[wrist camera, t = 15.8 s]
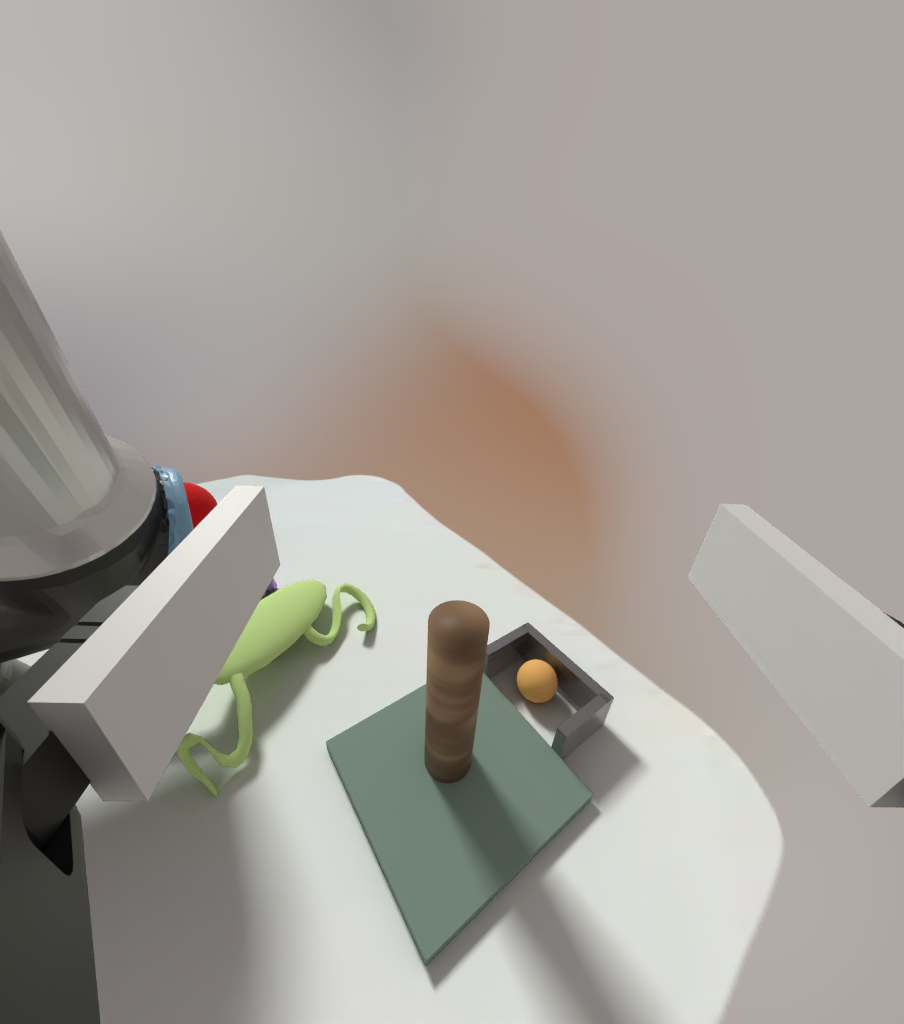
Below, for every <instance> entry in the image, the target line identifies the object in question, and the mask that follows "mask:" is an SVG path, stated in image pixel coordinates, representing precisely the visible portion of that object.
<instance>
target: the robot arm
mask: <svg viewBox="0 0 904 1024" xmlns="http://www.w3.org/2000/svg"><path fill="white" fill-rule="evenodd" d="M279 566H280V562H279V557H278V552H277V547H276V542H275V538H274V533H273V528H272V523H271V518H270V513H269V508H268V504H267V499H266V494H265V489H264V487H263V486H235V487H234V488H233V489H232V490H231V491H230V492H229V493H228V494H227V495H226V496H225V498H224V499H223V500H222V501H221V502H220V503H219V504H218V505H217V506H216V507H215V508H214V509H213V510H212V511H211V512H210V513H209V514H208V515H207V516H206V517H205V518H204V519H203V520H202V521H201V522H200V523H199V524H198V525H197V527H196V528H195V529H193V524H192V519H191V514H190V509H189V504H188V500H187V496H186V491H185V488H184V484H183V480H182V477H181V475H180V473H179V472H178V471H177V470H175V469H173V468H161V467H158V466H156V467H150V465H149V463H148V462H147V461H146V459H145V458H144V456H143V455H141V454H140V453H139V452H138V451H137V450H135V449H134V448H133V447H131V446H130V445H128V444H126V443H124V442H122V441H120V440H118V439H115V438H112V437H109V436H106V435H105V434H104V432H103V430H102V428H101V426H100V424H99V422H98V420H97V418H96V416H95V414H94V412H93V410H92V408H91V406H90V404H89V403H88V400H87V399H86V397H85V395H84V393H83V391H82V389H81V387H80V385H79V383H78V381H77V379H76V377H75V375H74V373H73V371H72V369H71V367H70V365H69V363H68V361H67V360H66V358H65V356H64V354H63V352H62V350H61V348H60V346H59V344H58V342H57V340H56V338H55V336H54V335H53V332H52V331H51V329H50V326H49V324H48V323H47V321H46V319H45V317H44V315H43V313H42V311H41V309H40V307H39V305H38V303H37V301H36V299H35V298H34V295H33V293H32V291H31V289H30V288H29V286H28V284H27V282H26V280H25V278H24V276H23V274H22V272H21V270H20V268H19V266H18V264H17V262H16V260H15V258H14V256H13V254H12V252H11V251H10V249H9V247H8V245H7V243H6V241H5V239H4V237H3V235H2V233H1V231H0V1024H100V1015H99V1004H98V994H97V983H96V972H95V962H94V951H93V941H92V930H91V920H90V909H89V899H88V888H87V877H86V867H85V856H84V846H83V835H82V825H81V816H80V813H79V811H78V809H77V807H76V805H75V804H76V802H77V801H78V799H79V798H80V796H81V795H82V794H83V792H84V791H85V789H86V788H87V786H88V785H89V783H90V784H91V786H92V787H93V788H94V790H95V791H96V792H97V793H98V795H99V796H100V797H101V799H102V800H103V801H149V799H150V797H151V795H152V794H153V792H154V790H155V788H156V786H157V785H158V783H159V781H160V779H161V777H162V776H163V774H164V772H165V770H166V768H167V767H168V765H169V763H170V761H171V760H172V758H173V756H174V754H175V752H176V751H177V749H178V747H179V745H180V743H181V742H182V740H183V738H184V736H185V734H186V733H187V731H188V729H189V727H190V725H191V724H192V722H193V720H194V718H195V716H196V715H197V713H198V711H199V709H200V707H201V706H202V704H203V702H204V700H205V699H206V697H207V695H208V693H209V691H210V690H211V688H212V686H213V684H214V682H215V681H216V679H217V677H218V675H219V673H220V672H221V670H222V668H223V666H224V664H225V663H226V661H227V659H228V657H229V655H230V654H231V652H232V650H233V648H234V647H235V645H236V643H237V641H238V639H239V638H240V636H241V634H242V632H243V630H244V629H245V627H246V625H247V623H248V621H249V620H250V618H251V616H252V614H253V612H254V611H255V609H256V607H257V605H258V603H259V602H260V600H261V598H262V596H263V594H264V593H265V591H266V589H267V587H268V586H269V584H270V582H271V580H272V578H273V577H274V575H275V573H276V571H277V569H278V568H279ZM688 578H689V579H690V580H691V582H692V583H693V584H694V585H695V587H696V588H697V589H698V590H699V592H700V593H701V594H702V596H703V597H704V598H705V599H706V601H707V602H708V603H709V604H710V606H711V607H712V608H713V609H714V611H715V612H716V613H717V615H718V616H719V617H720V618H721V620H722V621H723V622H724V623H725V625H726V626H727V627H728V629H729V630H730V631H731V632H732V633H733V635H734V636H735V637H736V639H737V640H738V641H739V642H740V644H741V645H742V646H743V648H744V649H745V650H746V651H747V653H748V654H749V655H750V656H751V658H752V659H753V660H754V661H755V663H756V664H757V665H758V667H759V668H760V669H761V670H762V672H763V673H764V674H765V676H766V677H767V678H768V679H769V681H770V682H771V683H772V684H773V685H774V687H775V688H776V689H777V691H778V692H779V693H780V695H781V696H782V697H783V698H784V699H785V701H786V702H787V703H788V705H789V706H790V707H791V708H792V710H793V711H794V712H795V713H796V715H797V716H798V717H799V719H800V720H801V721H802V722H803V724H804V725H805V726H806V727H807V729H808V730H809V731H810V733H811V734H812V735H813V736H814V738H815V739H816V740H817V741H818V742H819V744H820V745H821V746H822V748H823V749H824V750H825V752H826V753H827V754H828V755H829V756H830V758H831V759H832V760H833V762H834V763H835V764H836V765H837V767H838V768H839V769H840V770H841V772H842V773H843V774H844V776H845V777H846V778H847V779H848V781H849V782H850V783H851V785H853V787H854V788H855V790H856V791H857V792H858V793H859V795H860V796H861V797H862V799H863V800H864V801H865V802H866V804H867V805H868V806H869V807H904V624H903V623H901V622H900V621H898V620H896V619H894V618H893V617H891V616H889V615H887V614H886V613H884V612H882V611H881V610H880V609H878V608H877V607H876V606H874V605H873V604H872V603H871V602H869V601H868V600H867V599H865V598H864V597H863V596H862V595H861V594H859V593H858V592H857V591H855V590H854V589H853V588H852V587H850V586H849V585H848V584H846V583H845V582H844V581H842V580H841V579H840V578H839V577H838V576H836V575H835V574H834V573H832V572H831V571H830V570H829V569H827V568H826V567H825V566H823V565H822V564H821V563H820V562H818V561H817V560H816V559H815V558H813V557H812V556H811V555H809V554H808V553H807V552H805V551H804V550H803V549H802V548H800V547H799V546H798V545H797V544H795V543H794V542H793V541H791V540H790V539H789V538H788V537H786V536H785V535H784V534H783V533H781V532H780V531H779V530H778V529H776V528H775V527H774V526H772V525H771V524H770V523H769V522H767V521H766V520H765V519H763V518H762V517H761V516H760V515H758V514H757V513H756V512H755V511H753V510H752V509H751V508H749V507H748V506H747V505H738V504H720V506H719V508H718V511H717V513H716V515H715V518H714V520H713V522H712V524H711V526H710V529H709V531H708V533H707V535H706V538H705V540H704V542H703V544H702V547H701V549H700V551H699V553H698V556H697V558H696V560H695V562H694V565H693V567H692V569H691V572H690V574H689V576H688ZM47 649H49V650H48V651H47V652H46V653H45V654H44V655H43V656H42V657H41V658H40V659H39V660H38V661H37V662H36V663H35V664H34V665H33V666H32V667H31V666H29V665H27V664H25V663H23V662H21V661H19V660H16V659H17V658H20V657H24V656H27V655H30V654H33V653H37V652H40V651H43V650H47Z"/></svg>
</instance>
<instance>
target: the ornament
mask: <svg viewBox="0 0 904 1024" xmlns="http://www.w3.org/2000/svg"><path fill="white" fill-rule="evenodd" d="M183 484H184V488H185V491H186V496H187V500H188V504H189V509H190V514H191V519H192V524H193V529H195V528H196V527H197V525H198V524H199V523H200V522H201V521H202V520H203V519H204V518H205V517H206V516H207V515H208V514H209V513H210V512H211V511H212V510H213V509H214V508H215V507H216V506H217V502H216V500H215V499H214V497H213V496H212V495H211V494H210V493H209V492H208V491H207V490H205V489H204V488H202V487H200V486H198V485H195V484H191V483H183Z"/></svg>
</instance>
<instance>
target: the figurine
mask: <svg viewBox="0 0 904 1024" xmlns="http://www.w3.org/2000/svg"><path fill="white" fill-rule="evenodd" d="M276 588H277V584H276V582H275V580H274V578H272V580H271V582H270V584H269V586H268V587H267V589H266V591H265V593H264V594H263V596H264V595H266V594H267V595H269V594H270V595H269V596H267V597H265V598H264V599H262V600H260V602H259V603H258V605H257V607H256V609H255V611H254V612H253V614H252V616H251V618H250V620H249V621H248V623H247V625H246V627H245V629H244V630H243V632H242V634H241V636H240V638H239V639H238V641H237V643H236V645H235V647H234V648H233V650H232V652H231V654H230V655H229V657H228V659H227V661H226V663H225V664H224V666H223V668H222V670H221V672H220V673H219V675H218V677H217V679H216V681H215V682H214V684H218V685H224V684H227V683H230V685H231V688H232V690H233V693H234V695H235V699H236V703H237V718H238V734H239V740H238V744H237V749H236V750H235V751H233V752H232V753H231V754H230V755H229V756H228V755H225V754H222V753H219V752H218V751H216V750H215V749H214V748H213V747H212V746H211V745H210V744H209V743H207V742H206V741H205V740H204V739H203V738H202V737H200V736H197V735H194V734H191V733H188V734H187V735H185V736H184V738H183V740H182V742H181V743H180V745H179V747H178V749H177V751H176V752H177V756H178V757H179V759H180V760H181V762H182V763H183V764H184V766H185V767H186V769H187V770H188V771H189V772H190V773H191V774H192V775H193V776H194V777H196V778H197V779H198V780H200V781H201V782H202V783H203V784H204V785H205V786H207V787H208V789H209V790H210V791H211V792H212V793H213V794H214V795H215V796H216V797H217V791H216V788H215V785H214V784H213V783H212V782H211V780H210V779H209V778H208V777H207V776H206V775H205V774H204V773H203V772H202V771H201V769H200V768H199V767H198V765H197V764H196V762H195V761H194V759H193V758H192V755H191V752H190V750H189V749H190V748H191V747H193V746H195V745H196V744H198V743H200V744H201V745H203V746H204V747H206V748H208V750H209V751H210V752H211V754H212V755H213V757H214V758H215V759H216V760H217V762H218V763H219V764H220V765H221V766H222V767H226V768H237V767H238V766H239V765H240V764H241V763H242V762H243V761H244V760H245V759H246V758H247V757H248V754H249V751H250V748H251V745H252V742H253V725H252V702H251V698H250V694H249V690H248V688H247V685H246V683H245V679H244V678H245V677H247V676H248V675H250V674H252V673H254V672H255V671H257V670H259V669H261V668H263V667H264V666H266V665H268V664H269V663H270V662H271V661H273V660H274V659H275V658H277V657H278V656H279V655H280V654H282V653H283V652H284V651H285V650H287V649H288V648H289V647H290V646H291V645H293V644H294V643H295V642H296V641H297V640H298V638H299V637H300V636H301V635H302V634H304V636H305V637H306V638H307V639H309V640H310V641H311V642H312V643H314V644H317V645H319V646H325V645H329V644H331V643H332V642H333V641H334V639H335V638H336V636H337V635H338V632H339V629H340V625H341V620H342V612H341V603H340V592H346V593H348V594H350V595H352V596H353V597H354V598H356V599H357V600H358V601H359V603H360V604H361V605H362V607H363V608H364V610H365V613H366V624H360V625H358V627H357V628H358V630H360V631H370V630H371V629H372V628H373V626H374V625H375V620H376V616H375V610H374V607H373V605H372V603H371V602H370V600H369V599H368V597H367V596H366V595H365V594H364V593H363V592H362V591H361V590H360V589H359V588H357V587H355V586H353V585H350V584H343V585H341V586H339V587H337V588H336V589H335V592H334V595H333V599H332V601H333V621H332V627H331V630H330V632H329V634H328V635H326V636H325V635H322V634H319V633H318V632H317V631H316V630H315V629H313V627H312V626H311V625H312V623H313V622H314V621H315V620H316V619H317V618H318V615H319V613H320V612H321V610H322V608H323V605H324V603H325V600H326V597H327V595H326V587H325V585H324V584H322V583H321V582H318V581H315V580H307V581H301V582H296V583H293V584H291V585H289V586H286V587H284V588H281V589H279V590H277V591H276V592H274V591H275V590H276ZM273 592H274V593H273ZM271 593H272V594H271Z"/></svg>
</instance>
